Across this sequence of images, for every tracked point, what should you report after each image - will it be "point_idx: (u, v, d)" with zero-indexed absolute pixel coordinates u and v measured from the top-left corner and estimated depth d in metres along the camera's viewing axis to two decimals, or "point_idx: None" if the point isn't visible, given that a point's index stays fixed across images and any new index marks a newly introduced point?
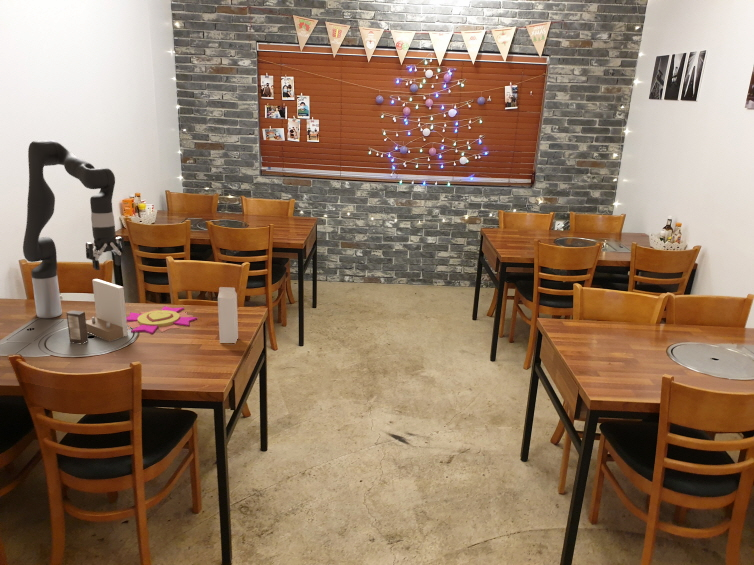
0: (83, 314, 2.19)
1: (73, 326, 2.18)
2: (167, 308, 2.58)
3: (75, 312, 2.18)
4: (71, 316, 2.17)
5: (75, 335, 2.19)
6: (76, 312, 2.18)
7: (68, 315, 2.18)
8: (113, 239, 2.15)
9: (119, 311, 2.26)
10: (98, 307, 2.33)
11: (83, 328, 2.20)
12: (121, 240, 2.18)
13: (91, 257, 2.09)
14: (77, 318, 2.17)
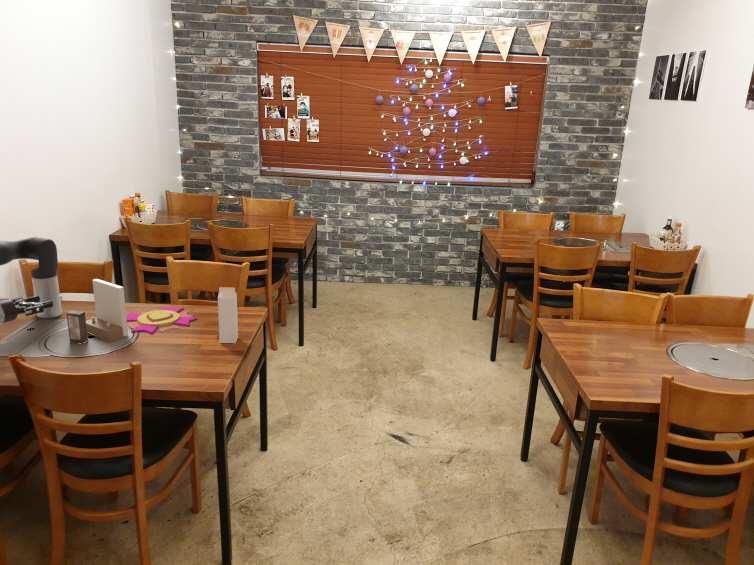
0: (83, 314, 2.19)
1: (73, 326, 2.18)
2: (167, 308, 2.58)
3: (75, 312, 2.18)
4: (71, 316, 2.17)
5: (75, 335, 2.19)
6: (76, 312, 2.18)
7: (68, 315, 2.18)
8: None
9: (119, 311, 2.26)
10: (98, 307, 2.33)
11: (83, 328, 2.20)
12: None
13: (40, 305, 2.00)
14: (77, 318, 2.17)
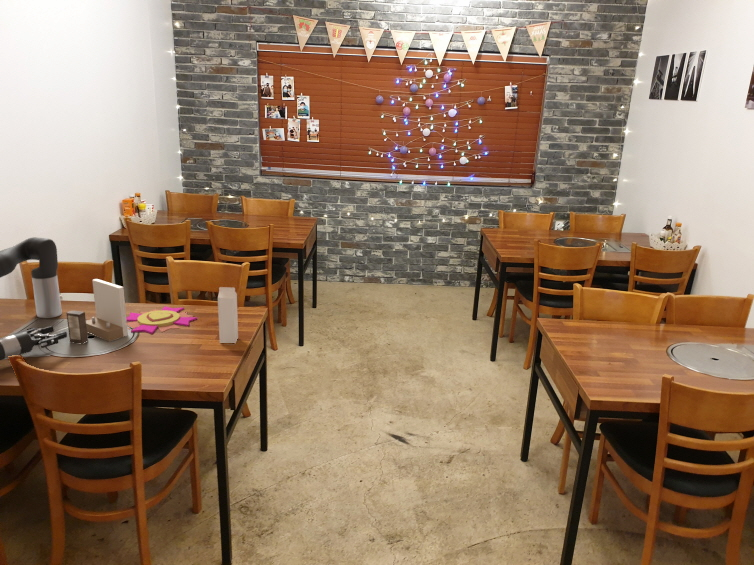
0: (83, 314, 2.19)
1: (73, 326, 2.18)
2: (167, 308, 2.58)
3: (75, 312, 2.18)
4: (71, 316, 2.17)
5: (75, 335, 2.19)
6: (76, 312, 2.18)
7: (68, 315, 2.18)
8: None
9: (119, 311, 2.26)
10: (98, 307, 2.33)
11: (83, 328, 2.20)
12: (24, 332, 2.09)
13: (55, 337, 2.06)
14: (77, 318, 2.17)
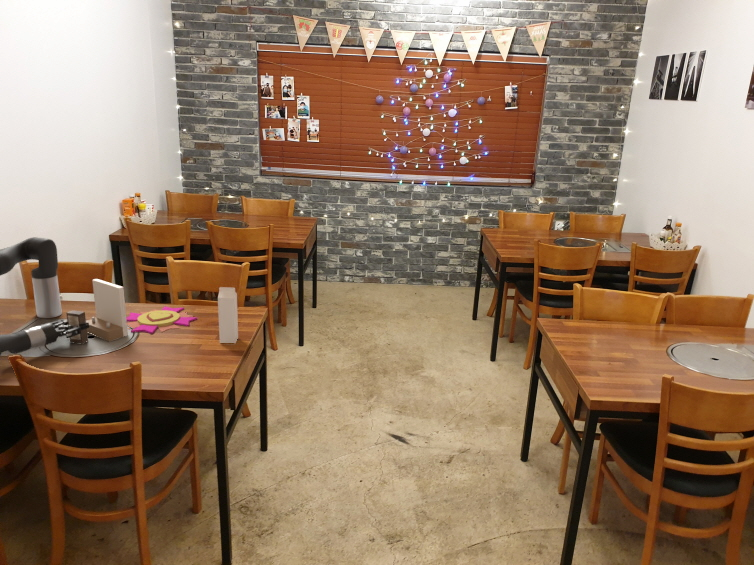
0: (83, 314, 2.19)
1: None
2: (167, 308, 2.58)
3: (75, 312, 2.18)
4: (71, 316, 2.17)
5: None
6: (76, 312, 2.18)
7: (68, 315, 2.18)
8: None
9: (119, 311, 2.26)
10: (98, 307, 2.33)
11: None
12: None
13: (78, 327, 2.14)
14: (77, 318, 2.17)
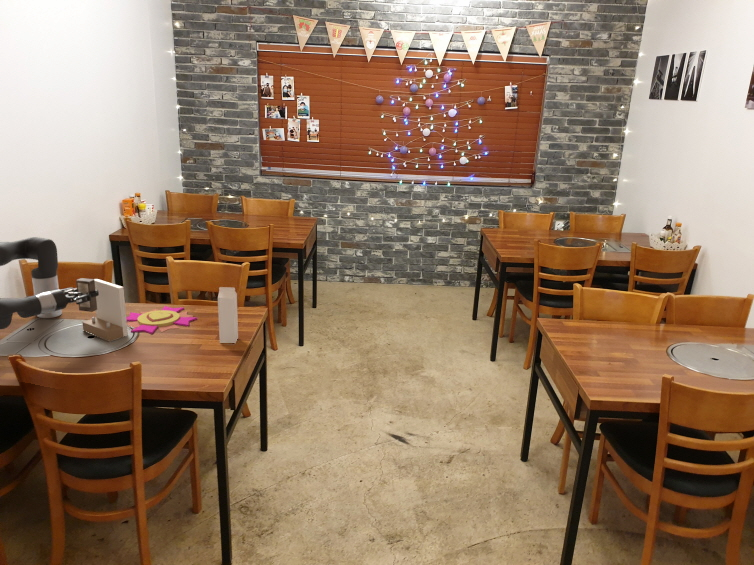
0: (93, 282, 2.19)
1: None
2: (167, 308, 2.58)
3: (84, 280, 2.18)
4: (81, 283, 2.18)
5: (84, 303, 2.20)
6: (86, 279, 2.19)
7: (78, 282, 2.18)
8: None
9: (119, 311, 2.26)
10: (98, 307, 2.33)
11: None
12: None
13: (88, 294, 2.15)
14: (87, 285, 2.18)
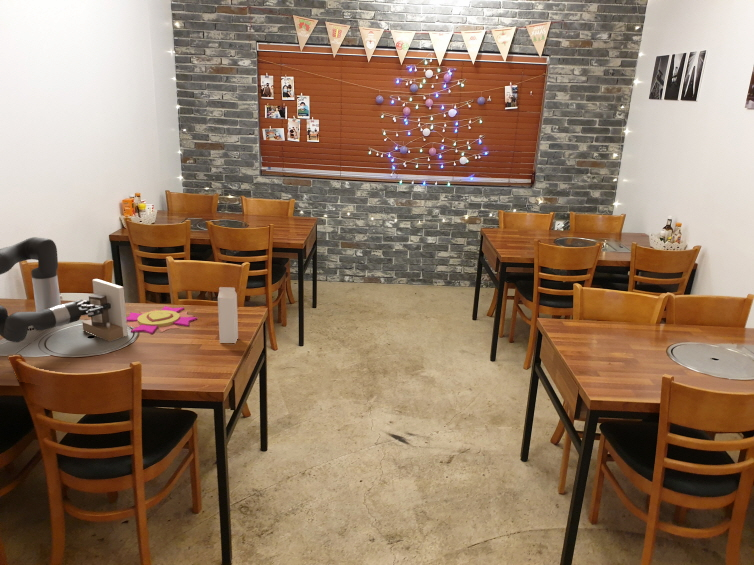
0: (105, 298, 2.25)
1: None
2: (167, 308, 2.58)
3: (97, 296, 2.24)
4: (93, 299, 2.24)
5: (97, 318, 2.26)
6: (98, 296, 2.25)
7: (90, 298, 2.24)
8: None
9: (119, 311, 2.26)
10: None
11: (105, 311, 2.26)
12: None
13: (100, 307, 2.20)
14: (99, 301, 2.24)
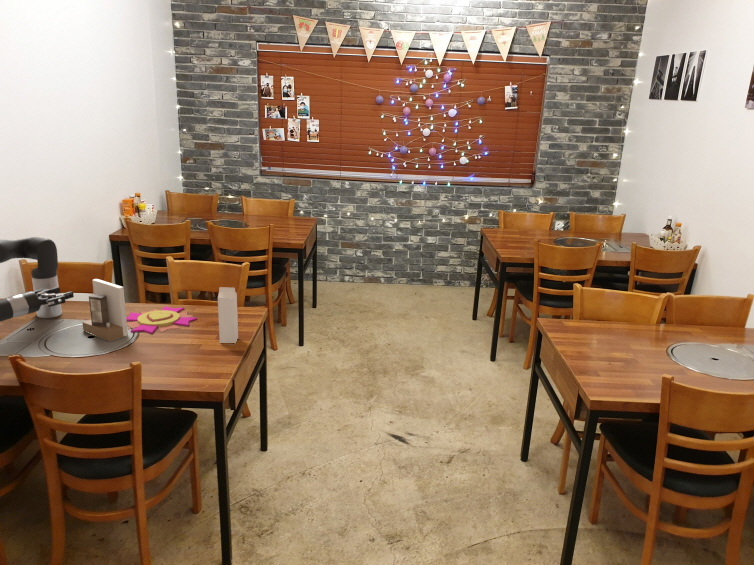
0: (105, 298, 2.25)
1: (95, 309, 2.25)
2: (167, 308, 2.58)
3: (97, 296, 2.24)
4: (93, 299, 2.24)
5: (97, 318, 2.26)
6: (98, 296, 2.25)
7: (90, 298, 2.24)
8: None
9: (119, 311, 2.26)
10: None
11: (105, 311, 2.26)
12: None
13: (62, 296, 2.08)
14: (99, 301, 2.24)
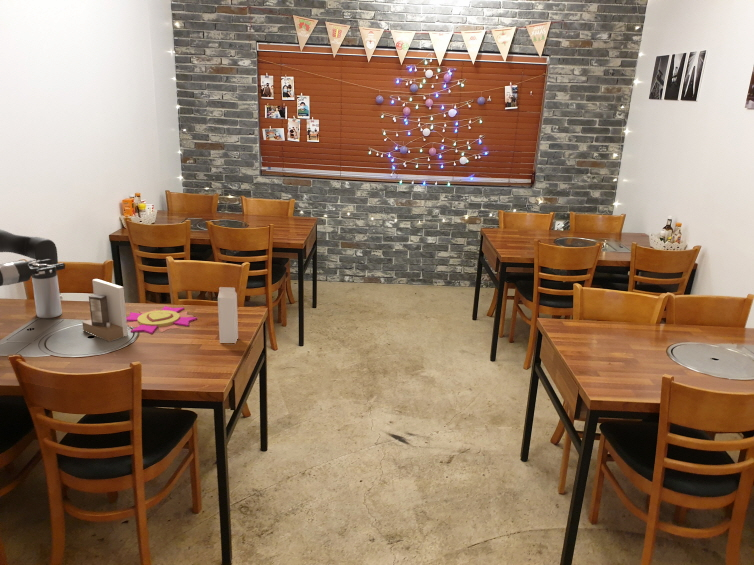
0: (105, 298, 2.25)
1: (95, 309, 2.25)
2: (167, 308, 2.58)
3: (97, 296, 2.24)
4: (93, 299, 2.24)
5: (97, 318, 2.26)
6: (98, 296, 2.25)
7: (90, 298, 2.24)
8: None
9: (119, 311, 2.26)
10: None
11: (105, 311, 2.26)
12: None
13: (53, 266, 2.07)
14: (99, 301, 2.24)
